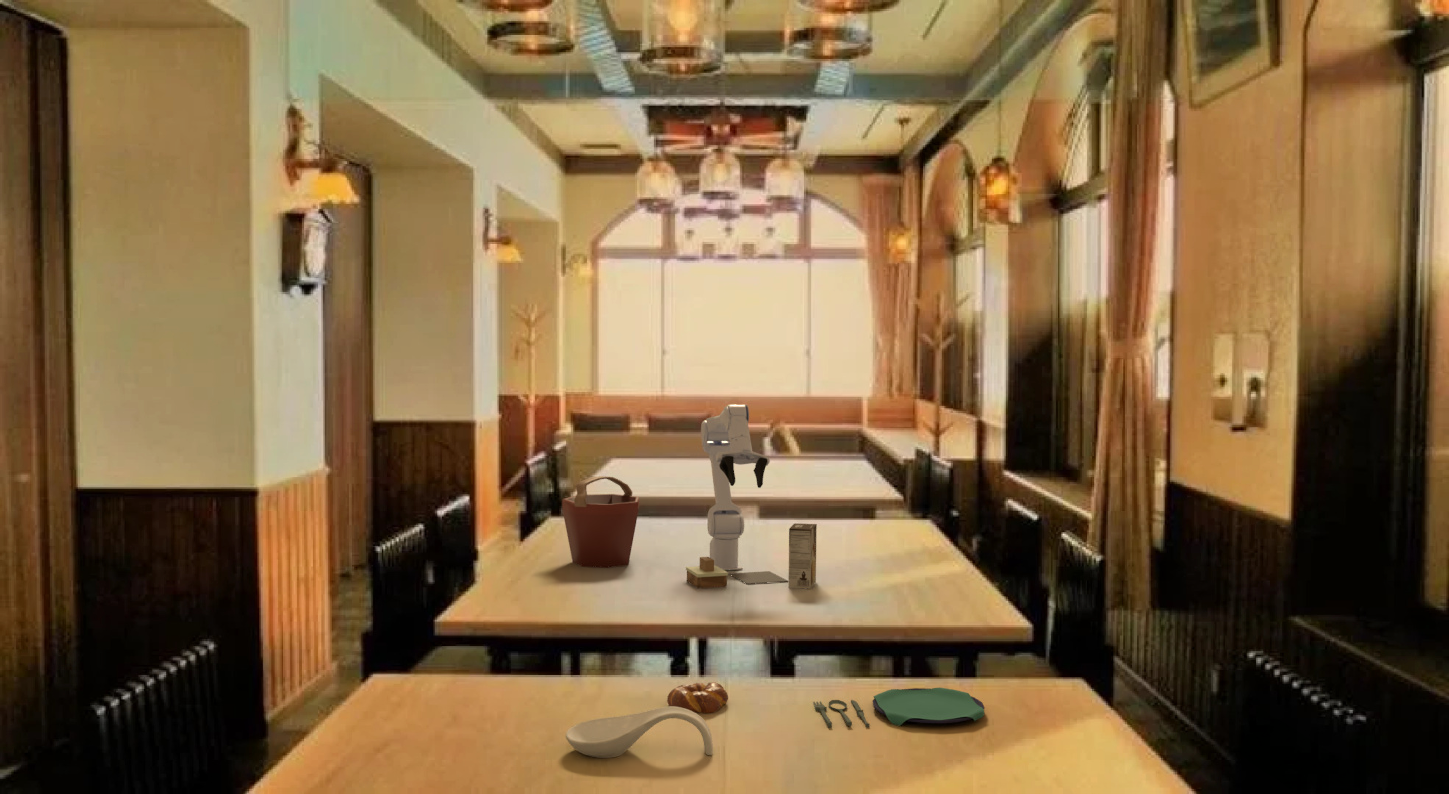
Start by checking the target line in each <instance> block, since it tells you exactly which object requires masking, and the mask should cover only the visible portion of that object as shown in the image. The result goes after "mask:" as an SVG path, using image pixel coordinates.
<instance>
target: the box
mask: <svg viewBox="0 0 1449 794" xmlns="http://www.w3.org/2000/svg"><path fill="white" fill-rule="evenodd" d="M686 582H688V583H689V582H690V583H689V584H691V585H692V586H694V587H695V588H696V589H710V588H711V589H712V588H725V586H727V587H728V576H712V577H696V576H695V575H693V574H692V573H690V572H688V571H687V570H686Z"/></svg>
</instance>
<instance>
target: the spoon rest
mask: <svg viewBox="0 0 1449 794" xmlns="http://www.w3.org/2000/svg"><path fill="white" fill-rule="evenodd" d="M668 719H678V720H682V721H686V722H687V723H690V724H692V725H693V726H694V727H695V728H696V729H697V730H698V731H699V733H700V735H701V737H702V741H703V747H704V752H705V754H706V755H707V756H712V755H713V753H714V749H713V748H714V747H713V738H712V737H713V736H712V733H711V729H710V727H709V725H708V723H707V722H706V720H705V719H704V718H703V717H702V716H701V715H699V714H698V713H695V712H693V711H690V710H688V709H685V708H681V707H675V706H669V705H668V706H667V705H666V706H662V707H656V708H652V709H649V710H645V711H641V712H636V713H632V714H626V715H620V716H610V717H609V716H608V717H601V718H599V717H598V718H595V719H589V720H586V721H582V722H579V723H577V724H575V725H573V726H571V727H570V728H568V729H567V731H566V733H565V739H566V740H567V742H568V744H570V746H571V747H572V748H573V749H574V750H576V751H577V752H578V753H581V754H583V755H585V756H589V757H593V758H599V759H607V758H609V759H610V758H616V757H619V756H622V755H624V754H625V752H626V751H628V749H630V748H631V747H632V746H633V745H634V744H635V743H636V742H637V741H638V740H639V739H640V738H641V737H642V736H643V735H644V734H645V733H647V731H649V730H650V729H651V728H652V727H654V726H655V725H657V724H659V723H660V722H662V721H665V720H668Z"/></svg>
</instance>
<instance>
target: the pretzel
mask: <svg viewBox="0 0 1449 794" xmlns="http://www.w3.org/2000/svg"><path fill="white" fill-rule="evenodd" d="M728 701H729V695H728V692H727V691H726V690H725V687H724V686H723V685H721V684H720V683H719V682H717V681H716V682H714V681H713V682H712V681H711V682H708V683H707V685H706V684H704V683H702V682H701V683H700V682H696V683H693V684H688V683H687V684H680V685H678V686H676V687H675V688H673V689H672V690H671V691H669V693H668V695H667V701H666V702H667V704H668V706H675V707H681V708H685V709H688V710H690V711H693V712H695V713H696V714H698V713H702V714H712V713H716V712H718V710H720V708H722V707H723V706H725V705H726V704H727V703H728Z"/></svg>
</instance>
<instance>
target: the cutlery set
mask: <svg viewBox="0 0 1449 794" xmlns="http://www.w3.org/2000/svg"><path fill="white" fill-rule="evenodd" d="M812 702H813V707H814V710H815V711H816V712H818V713H820V714H821V717H822V719H823V720H824V722H825V723H826V725H827V727H828V728H832V727H833V723H832V721H831V719H830V718H829V717H828V715H827V714H826V711H827V706H825V705H824V704H823V703H822V700H821V701H819V702H818V701H816V702H815V701H812ZM850 703H851V704H852V706H853V708H854V709H855V711H856V716H857V717H858V718H861V719H862V721H863V723H864V724H865V728H870V726H871V725H870V723H869V722H868V721H867V720H866V717H865V712H864V709H861V706H860V704H859V703H858V701H856V700H854V699H850ZM833 705H841V706H843V708H837V707H833ZM847 705H848V704H847V703H846V702H845V701H842V700H839V699H831V700H829V701H828V706H829V708H830V709H831V710H834V711H836V712H837V711H838V712H839V713H840V715H841V716H842V718H843V719H844V721H845V723H846V726H848V727H849V726H851V727H852V726H853V722H852V721H851V719H850V718H849V716H848V715H847V713H845V712H844V711H845V710H846V709H847V707H848V706H847ZM872 706H873V708H874V709H875V710H876V711H877V712H878V713H879V714H882V715H884V716H886V718H887V719H888V721H889V722H890V723H891V724H892V725H895V726H897V727H898V726H899V727H901V725H903V724H904V723H905V722H910V723H921V724H948V723H949V724H950V723H959V722H964V721H967V720H971V721H973V722H976V721H977V720H980V719H982V718H983V717H984V715H985V706H984V703H983V702H982V701H981V700H979V699H978V698H976V697H974V696H971V695H970V693H968V692H965V691H961V690H958V689H953V688H952V689H951V688H945V687H931V688H928V687H927V688H925V687H922V688H917V687H913V688H904V689H902V688H901V689H900V688H892V689H888V690H885V691H882V692H880V693H878V694H876V695H873V700H872Z"/></svg>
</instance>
